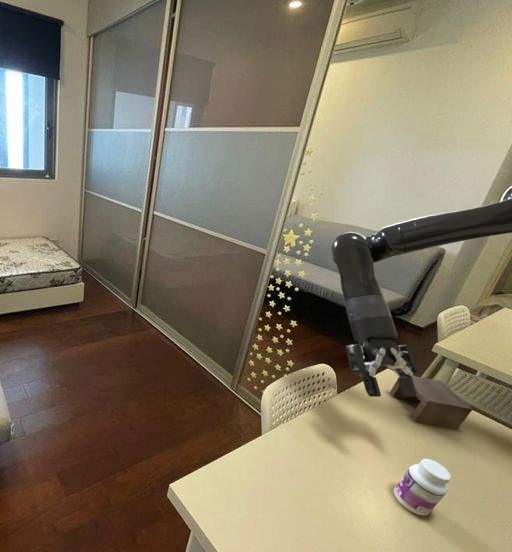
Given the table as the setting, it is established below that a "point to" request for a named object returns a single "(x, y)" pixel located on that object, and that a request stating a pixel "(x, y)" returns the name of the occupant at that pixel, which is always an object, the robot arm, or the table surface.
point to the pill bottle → (422, 486)
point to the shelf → (435, 403)
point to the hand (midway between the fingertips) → (392, 396)
